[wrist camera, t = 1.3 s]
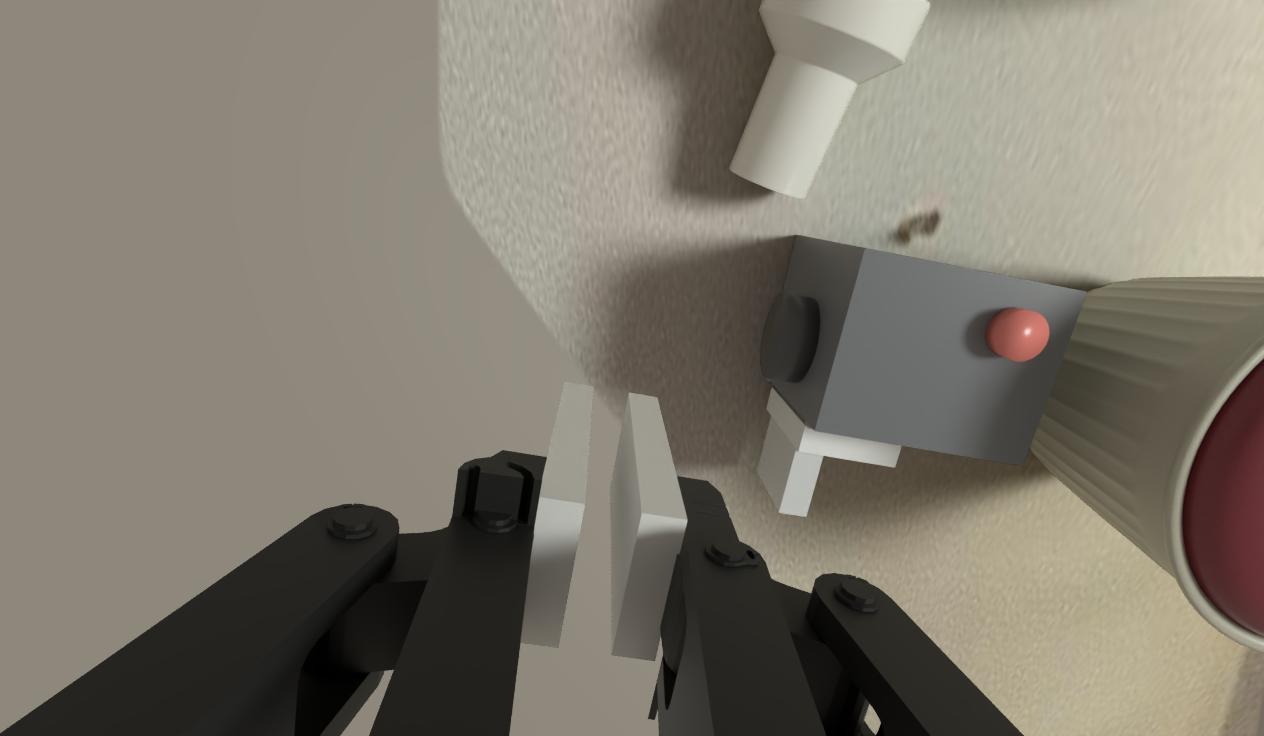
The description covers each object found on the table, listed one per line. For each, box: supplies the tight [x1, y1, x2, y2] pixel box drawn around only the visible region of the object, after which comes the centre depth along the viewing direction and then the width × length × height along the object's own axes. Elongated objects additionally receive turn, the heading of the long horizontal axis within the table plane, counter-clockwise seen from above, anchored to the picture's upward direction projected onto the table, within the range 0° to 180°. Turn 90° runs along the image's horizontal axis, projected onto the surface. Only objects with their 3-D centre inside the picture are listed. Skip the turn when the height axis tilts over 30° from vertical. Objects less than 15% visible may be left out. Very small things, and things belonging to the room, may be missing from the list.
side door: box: [757, 387, 902, 517], centre depth 38 cm, size 5×6×7 cm
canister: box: [1030, 277, 1264, 653], centre depth 33 cm, size 18×18×21 cm
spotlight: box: [729, 0, 930, 199], centre depth 34 cm, size 8×11×8 cm
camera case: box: [760, 235, 1087, 466], centre depth 35 cm, size 9×13×12 cm
